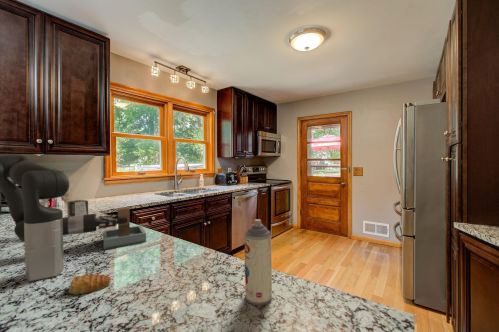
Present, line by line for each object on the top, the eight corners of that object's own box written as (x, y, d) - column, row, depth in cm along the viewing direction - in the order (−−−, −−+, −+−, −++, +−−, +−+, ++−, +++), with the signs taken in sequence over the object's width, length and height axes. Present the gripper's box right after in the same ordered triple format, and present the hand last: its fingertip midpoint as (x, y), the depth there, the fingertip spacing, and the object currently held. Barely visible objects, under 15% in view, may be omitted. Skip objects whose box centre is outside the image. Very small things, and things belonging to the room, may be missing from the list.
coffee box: (89, 230, 121) (88, 200, 121) (74, 233, 116) (74, 202, 116) (81, 228, 126) (80, 199, 126) (67, 231, 121) (66, 201, 121)
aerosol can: (245, 290, 62) (244, 217, 62) (270, 289, 62) (269, 216, 62) (245, 305, 55) (243, 223, 55) (273, 305, 55) (272, 223, 55)
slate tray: (146, 242, 102) (145, 233, 102) (103, 250, 93) (103, 240, 93) (140, 233, 115) (140, 225, 115) (103, 239, 106) (103, 230, 106)
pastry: (112, 279, 69) (112, 267, 69) (107, 291, 63) (107, 277, 63) (76, 285, 66) (75, 272, 66) (66, 298, 60) (66, 284, 60)
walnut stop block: (130, 239, 103) (129, 208, 103) (118, 240, 101) (118, 209, 101) (129, 236, 107) (128, 206, 107) (118, 238, 105) (117, 208, 105)
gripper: (81, 218, 90) (127, 212, 98) (83, 212, 101) (124, 207, 110) (81, 237, 90) (128, 230, 98) (84, 228, 102) (125, 223, 110)
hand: (126, 218), depth 104 cm, fingers open, 8 cm apart
